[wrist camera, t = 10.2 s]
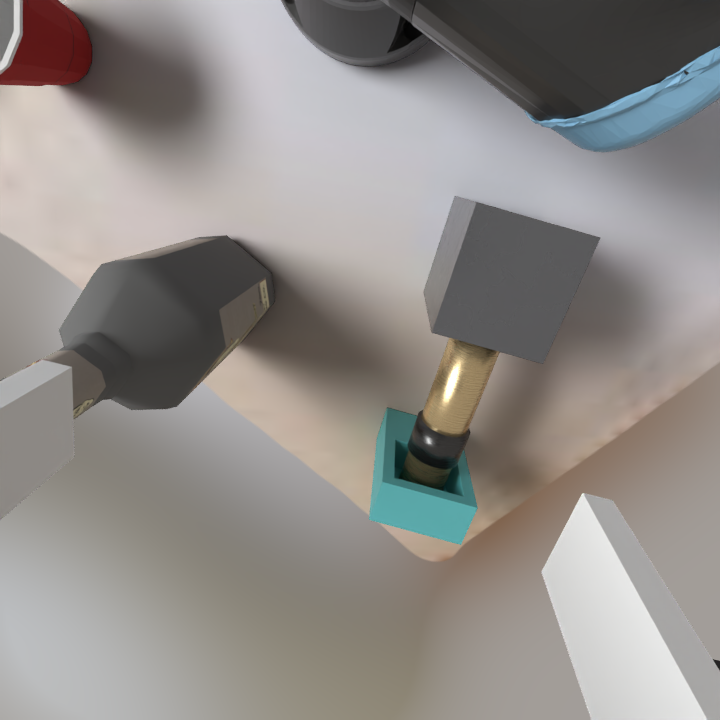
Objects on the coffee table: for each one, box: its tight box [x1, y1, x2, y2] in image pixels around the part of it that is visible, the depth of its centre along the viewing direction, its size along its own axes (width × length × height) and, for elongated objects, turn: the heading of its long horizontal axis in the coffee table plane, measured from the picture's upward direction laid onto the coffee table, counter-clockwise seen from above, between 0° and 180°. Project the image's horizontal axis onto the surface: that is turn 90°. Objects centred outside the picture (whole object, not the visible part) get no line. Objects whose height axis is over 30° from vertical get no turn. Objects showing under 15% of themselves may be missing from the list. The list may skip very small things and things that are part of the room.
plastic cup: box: [0, 0, 92, 86], centre depth 33 cm, size 11×11×12 cm
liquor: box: [0, 236, 275, 420], centre depth 32 cm, size 9×9×30 cm
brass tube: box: [399, 338, 500, 491], centre depth 38 cm, size 18×5×5 cm, turn 165°
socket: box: [369, 408, 477, 545], centre depth 44 cm, size 4×8×13 cm, turn 75°
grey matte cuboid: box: [424, 196, 600, 364], centre depth 36 cm, size 9×8×13 cm
